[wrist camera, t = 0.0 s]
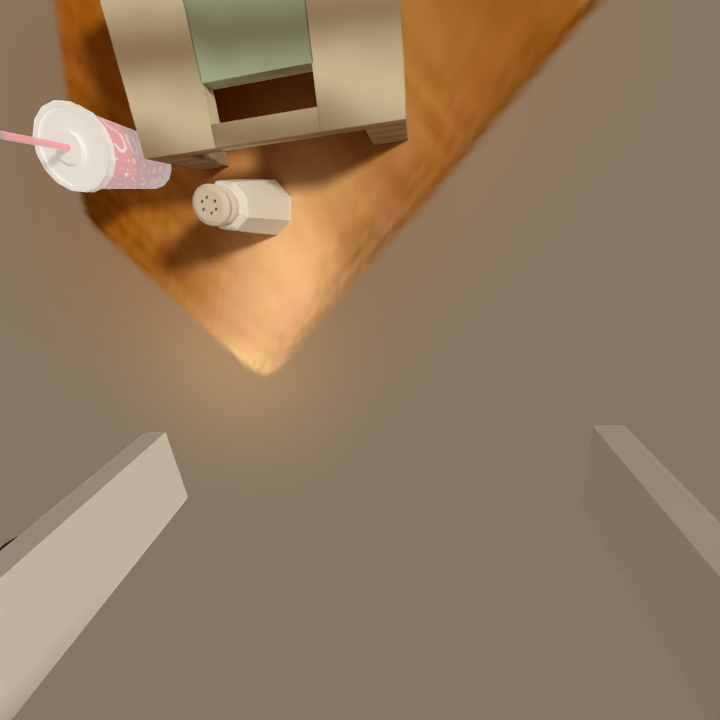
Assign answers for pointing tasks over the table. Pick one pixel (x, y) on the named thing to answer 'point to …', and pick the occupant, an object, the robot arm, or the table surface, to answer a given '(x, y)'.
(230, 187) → the pepper shaker
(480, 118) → the table surface
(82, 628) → the robot arm
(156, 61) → the cut-out shelf
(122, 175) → the beverage cup
